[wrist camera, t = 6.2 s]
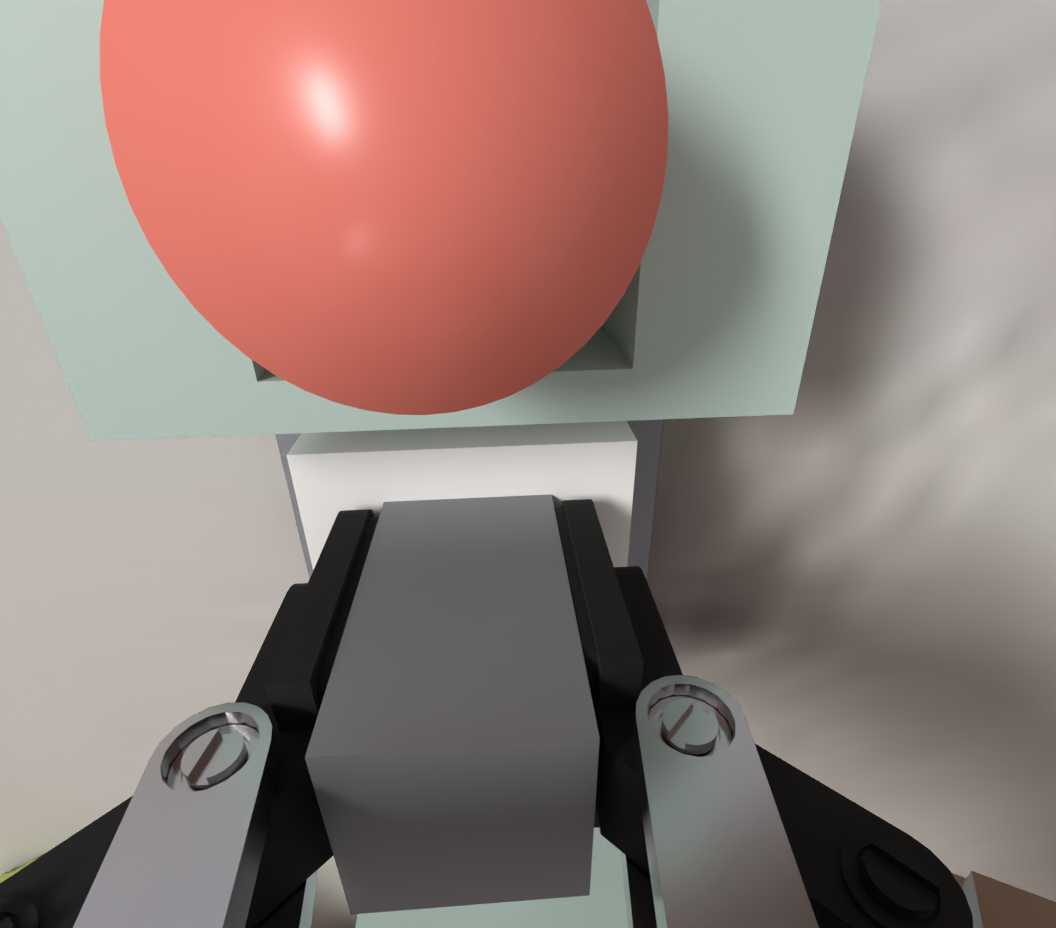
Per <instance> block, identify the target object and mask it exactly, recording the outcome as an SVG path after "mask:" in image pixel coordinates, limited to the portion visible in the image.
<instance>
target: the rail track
mask: <svg viewBox="0 0 1056 928" xmlns="http://www.w3.org/2000/svg"><path fill="white" fill-rule="evenodd" d="M646 2H647V5H648V8H649V11H650V14H651V17H652V20H653V23H654V26H655V30H656V33H657V38H658V43H659V48H660V53H661V58H662V63H663V68H664V73H665V82H666V94H667V106H668V151H667V163H666V170H665V177H664V184H663V191H662V197H661V201H660V205H659V209H658V213H657V217H656V220H655V224H654V228H653V232H652V235H651V237H650V240H649V242H648V245H647V247H646V250H645V253H644V255H643V258H642V260H641V263H640V265H639V267H638V269H637V271H636V273H635V275H634V277H633V279H632V280H631V282H630V284H629V286H628V288H627V290H626V292H625V294H624V295H623V297H622V298H621V300H620V301H619V303H618V304H617V306H616V307H615V308H614V310H613V311H612V313H611V314H610V316H609V317H608V318H607V320H606V321H605V323H604V324H603V325H602V326H601V327H600V328H599V329H598V330H597V332H596V333H595V334H594V335H593V336H592V337H591V338H590V339H589V341H588V342H587V343H586V344H585V345H584V346H583V347H582V348H581V349H580V350H578V351H577V352H576V353H575V354H574V355H573V356H572V357H570V358H569V359H568V360H567V361H566V362H565V363H564V364H562V365H561V366H560V367H558V368H557V369H556V370H554V371H553V372H551V373H550V374H548V375H547V376H545V377H544V378H542V379H541V380H539V381H538V382H536V383H534V384H532V385H531V386H529V387H527V388H525V389H523V390H521V391H519V392H517V393H515V394H513V395H511V396H508V397H506V398H503V399H500V400H497V401H495V402H492V403H489V404H486V405H483V406H480V407H475V408H471V409H466V410H462V411H457V412H452V413H441V414H431V415H396V414H388V413H381V412H374V411H367V410H362V409H358V408H355V407H351V406H347V405H343V404H339V403H336V402H333V401H330V400H328V399H325V398H322V397H320V396H317V395H315V394H312V393H310V392H307V391H305V390H303V389H301V388H299V387H297V386H295V385H293V384H291V383H289V382H287V381H285V380H283V379H282V378H280V377H278V376H276V375H274V374H273V373H271V372H270V371H268V370H267V369H265V368H264V367H262V366H261V365H259V364H258V363H256V362H255V361H253V360H252V359H250V358H249V357H247V356H246V355H245V354H244V353H242V352H241V351H240V350H239V349H238V348H236V347H235V346H234V345H233V344H232V343H230V342H229V341H228V340H227V339H226V338H224V337H223V336H222V335H221V334H220V333H219V332H218V331H217V330H216V329H215V328H214V327H213V326H212V325H211V324H210V323H209V322H208V321H207V320H206V319H205V318H204V317H203V316H202V315H201V314H200V313H199V312H198V311H197V310H196V309H195V308H194V307H193V305H192V304H191V303H190V302H189V300H188V299H187V298H186V296H185V295H184V294H183V293H182V291H181V290H180V289H179V288H178V286H177V285H176V284H175V282H174V281H173V280H172V279H171V277H170V276H169V274H168V273H167V271H166V270H165V268H164V266H163V265H162V263H161V262H160V260H159V259H158V257H157V255H156V254H155V252H154V251H153V249H152V247H151V246H150V244H149V243H148V241H147V239H146V237H145V234H144V232H143V230H142V228H141V226H140V224H139V222H138V220H137V218H136V216H135V214H134V212H133V210H132V208H131V206H130V203H129V201H128V198H127V195H126V192H125V190H124V187H123V184H122V181H121V179H120V176H119V173H118V170H117V168H116V164H115V160H114V156H113V152H112V148H111V144H110V140H109V136H108V132H107V128H106V123H105V115H104V107H103V99H102V92H101V84H100V29H101V21H102V13H103V5H104V0H0V219H1V222H2V224H3V227H4V229H5V232H6V234H7V237H8V239H9V242H10V244H11V247H12V249H13V252H14V254H15V256H16V259H17V261H18V264H19V266H20V269H21V271H22V274H23V276H24V279H25V281H26V284H27V286H28V289H29V291H30V294H31V296H32V299H33V301H34V304H35V306H36V309H37V311H38V314H39V316H40V319H41V321H42V324H43V326H44V328H45V331H46V333H47V336H48V338H49V341H50V343H51V346H52V348H53V351H54V353H55V356H56V358H57V361H58V363H59V366H60V368H61V371H62V373H63V376H64V378H65V381H66V383H67V386H68V388H69V391H70V393H71V396H72V398H73V401H74V403H75V405H76V408H77V410H78V413H79V415H80V418H81V420H82V423H83V425H84V428H85V430H86V433H87V435H88V438H89V440H90V441H113V440H139V439H165V438H191V437H217V436H243V435H269V434H276V438H277V443H278V447H279V451H280V455H281V459H282V464H283V468H284V472H285V476H286V481H287V485H288V489H289V493H290V497H291V502H292V506H293V510H294V514H295V518H296V523H297V527H298V531H299V535H300V540H301V544H302V548H303V552H304V556H305V561H306V565H307V569H308V573H309V577H311V575H312V573H313V568H312V563H311V559H310V555H309V550H308V546H307V542H306V537H305V533H304V529H303V524H302V520H301V516H300V512H299V507H298V503H297V499H296V494H295V490H294V486H293V481H292V477H291V473H290V468H289V464H288V460H287V456H286V455H287V454H288V452H289V451H290V449H291V448H292V446H293V445H294V444H295V442H296V441H297V439H298V438H299V436H300V435H301V433H321V432H347V431H373V430H399V429H425V428H451V427H477V426H503V425H529V424H555V423H581V422H607V421H627V423H628V425H629V426H630V428H631V430H632V432H633V434H634V435H635V437H636V439H637V453H636V466H635V478H634V491H633V503H632V515H631V528H630V540H629V552H628V565H627V567H630V566H639V567H640V568H641V569H642V571H643V573H644V576H645V578H646V581H647V575H648V565H649V555H650V545H651V536H652V526H653V516H654V506H655V496H656V486H657V477H658V467H659V457H660V447H661V437H662V428H663V419H685V418H711V417H737V416H763V415H789V414H794V410H795V405H796V400H797V396H798V391H799V386H800V381H801V377H802V372H803V367H804V363H805V358H806V353H807V349H808V344H809V339H810V335H811V330H812V325H813V321H814V316H815V311H816V307H817V302H818V297H819V293H820V288H821V283H822V279H823V274H824V269H825V264H826V260H827V255H828V250H829V246H830V241H831V236H832V232H833V227H834V222H835V218H836V213H837V208H838V204H839V199H840V194H841V190H842V185H843V180H844V176H845V171H846V166H847V161H848V157H849V152H850V147H851V143H852V138H853V133H854V129H855V124H856V119H857V115H858V110H859V105H860V101H861V96H862V91H863V87H864V82H865V77H866V73H867V68H868V63H869V59H870V54H871V49H872V44H873V40H874V35H875V30H876V26H877V21H878V16H879V12H880V7H881V2H882V0H646ZM355 928H628V922H627V911H626V901H625V891H624V881H623V870H622V860H621V851H620V850H619V849H618V848H617V847H615V846H614V845H613V844H612V843H610V842H609V841H608V840H607V839H606V838H604V837H603V836H602V835H601V834H600V828H599V827H597V828H594V834H593V850H592V865H591V881H590V895H589V896H577V897H564V898H552V899H539V900H527V901H514V902H502V903H489V904H477V905H464V906H452V907H439V908H427V909H414V910H402V911H389V912H377V913H364V914H358V915H357V920H356V926H355Z"/></svg>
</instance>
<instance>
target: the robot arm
mask: <svg viewBox="0 0 1056 928" xmlns="http://www.w3.org/2000/svg"><path fill="white" fill-rule="evenodd" d="M554 510H555V515H556V520H557V525H558V530H559V535H560V540H561V545H562V550H563V555H564V560H565V565H566V570H567V575H568V581H569V586H570V591H571V596H572V601H573V606H574V611H575V616H576V621H577V626H578V631H579V636H580V641H581V646H582V651H583V656H584V661H585V666H586V671H587V677H588V682H589V687H590V692H591V697H592V702H593V707H594V712H595V717H596V722H597V727H598V732H599V737H600V741H599V757H598V772H597V788H596V803H595V819H594V828H597V827H599V828H600V834H601V835H602V836H603V837H604V838H606V839H607V840H608V841H609V842H610V843H612V844H613V845H614V846H615V847H617V848H618V849H619V850H620V851H621V860H622V870H623V881H624V891H625V901H626V911H627V922H628V928H1056V902H1054V901H1051V900H1048V899H1046V898H1043V897H1040V896H1038V895H1035V894H1032V893H1030V892H1027V891H1024V890H1022V889H1019V888H1016V887H1014V886H1011V885H1008V884H1006V883H1003V882H1000V881H998V880H995V879H992V878H990V877H987V876H984V875H982V874H979V873H976V872H974V871H971V873H970V874H969V876H968V878H967V879H966V878H963V877H961V876H958V875H956V874H953V873H951V872H950V870H949V869H948V868H947V867H946V866H945V865H944V864H943V863H942V862H941V861H940V860H939V859H938V858H937V857H936V856H935V855H934V854H933V852H932V851H931V850H929V849H928V848H926V847H925V846H924V845H922V844H921V843H919V842H918V841H917V840H915V839H914V838H913V837H911V836H910V835H908V834H907V833H905V832H903V831H901V830H900V829H898V828H896V827H895V826H893V825H891V824H890V823H888V822H886V821H885V820H883V819H881V818H879V817H878V816H876V815H874V814H873V813H871V812H869V811H868V810H866V809H864V808H863V807H861V806H859V805H858V804H856V803H854V802H852V801H851V800H849V799H847V798H846V797H844V796H842V795H841V794H839V793H837V792H836V791H834V790H832V789H831V788H829V787H827V786H825V785H824V784H822V783H820V782H819V781H817V780H815V779H814V778H812V777H810V776H809V775H807V774H805V773H803V772H802V771H800V770H798V769H797V768H795V767H793V766H792V765H790V764H788V763H787V762H785V761H783V760H782V759H780V758H778V757H776V756H775V755H773V754H771V753H770V752H768V751H766V750H765V749H763V748H761V747H760V746H758V745H756V744H755V743H754V740H753V737H752V734H751V732H750V729H749V726H748V723H747V720H746V718H745V716H744V714H743V712H742V710H741V708H740V707H739V705H738V704H737V703H736V702H735V701H734V700H733V698H732V697H731V696H730V695H729V694H728V693H727V692H725V691H724V690H722V689H721V688H719V687H718V686H716V685H714V684H713V683H711V682H708V681H705V680H703V679H700V678H697V677H692V676H685V675H683V674H682V672H681V669H680V666H679V664H678V661H677V659H676V656H675V653H674V651H673V648H672V646H671V643H670V640H669V638H668V635H667V633H666V630H665V627H664V625H663V622H662V620H661V617H660V614H659V612H658V609H657V607H656V604H655V602H654V599H653V596H652V594H651V591H650V589H649V586H648V583H647V581H646V578H645V576H644V573H643V571H642V569H641V568H640V567H639V566H630V567H614V566H613V563H612V560H611V557H610V554H609V550H608V547H607V544H606V541H605V538H604V535H603V531H602V528H601V525H600V522H599V519H598V516H597V512H596V509H595V506H594V503H593V501H592V499H583V500H563V501H562V508H554ZM378 519H379V517H374V514H373V511H372V510H371V509H366V510H344V511H339V513H338V515H337V517H336V519H335V521H334V524H333V526H332V528H331V531H330V533H329V535H328V538H327V540H326V542H325V545H324V547H323V549H322V552H321V554H320V556H319V559H318V561H317V563H316V566H315V568H314V570H313V573H312V575H311V577H310V580H309V582H308V583H303V584H294V585H292V586H291V587H290V589H289V590H288V592H287V593H286V596H285V598H284V600H283V602H282V604H281V606H280V608H279V611H278V613H277V615H276V617H275V619H274V621H273V623H272V625H271V628H270V630H269V632H268V634H267V636H266V638H265V640H264V642H263V645H262V647H261V649H260V651H259V653H258V655H257V657H256V659H255V662H254V664H253V666H252V668H251V670H250V672H249V674H248V676H247V679H246V681H245V683H244V685H243V687H242V689H241V691H240V693H239V696H238V698H237V700H236V702H235V703H225V704H221V705H217V706H213V707H210V708H207V709H205V710H203V711H201V712H199V713H197V714H194V715H192V716H191V717H189V718H188V719H186V720H185V721H184V722H182V723H181V724H179V725H178V726H176V727H175V728H174V729H173V730H172V731H171V732H170V733H169V734H168V735H167V736H166V737H165V738H164V739H163V740H162V741H161V742H160V743H159V745H158V747H157V748H156V750H155V751H154V753H153V755H152V756H151V758H150V760H149V762H148V764H147V766H146V768H145V771H144V773H143V775H142V777H141V779H140V782H139V784H138V786H137V788H136V790H135V793H134V795H133V796H132V797H130V798H129V799H127V800H126V801H124V802H123V803H121V804H120V805H118V806H117V807H115V808H114V809H112V810H111V811H109V812H108V813H106V814H105V815H103V816H102V817H100V818H98V819H97V820H95V821H94V822H92V823H91V824H89V825H88V826H86V827H85V828H83V829H82V830H80V831H79V832H77V833H76V834H74V835H73V836H71V837H70V838H68V839H67V840H65V841H64V842H62V843H61V844H59V845H58V846H56V847H55V848H53V849H52V850H50V851H48V852H47V853H45V854H44V855H42V856H41V857H39V858H38V859H36V860H35V861H33V862H32V863H30V864H29V865H27V866H26V867H24V868H23V869H21V870H20V871H18V872H17V873H15V874H14V875H12V876H11V877H9V878H8V879H6V880H5V881H3V882H2V883H0V928H311V922H312V915H313V908H314V901H315V894H316V887H317V870H318V869H319V868H320V867H321V866H322V865H323V864H324V863H325V862H326V861H327V860H329V859H330V858H331V857H332V856H333V851H332V848H331V845H330V841H329V838H328V835H327V831H326V828H325V824H324V821H323V818H322V814H321V811H320V807H319V804H318V801H317V797H316V794H315V791H314V787H313V784H312V780H311V777H310V774H309V770H308V767H307V763H306V760H305V755H306V752H307V749H308V746H309V742H310V739H311V736H312V733H313V729H314V726H315V723H316V720H317V717H318V713H319V710H320V707H321V704H322V700H323V697H324V694H325V691H326V687H327V684H328V681H329V678H330V674H331V671H332V668H333V665H334V661H335V658H336V655H337V652H338V649H339V645H340V642H341V639H342V636H343V632H344V629H345V626H346V623H347V619H348V616H349V613H350V610H351V606H352V603H353V600H354V597H355V594H356V590H357V587H358V584H359V581H360V577H361V574H362V571H363V568H364V564H365V561H366V558H367V555H368V551H369V548H370V545H371V542H372V539H373V535H374V532H375V529H376V526H377V522H378Z"/></svg>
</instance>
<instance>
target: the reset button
mask: <svg viewBox="0 0 1056 928" xmlns="http://www.w3.org/2000/svg"><path fill="white" fill-rule="evenodd" d="M100 84H101V92H102V99H103V107H104V115H105V123H106V128H107V132H108V136H109V140H110V144H111V148H112V152H113V156H114V160H115V164H116V168H117V170H118V173H119V176H120V179H121V181H122V184H123V187H124V190H125V192H126V195H127V198H128V201H129V203H130V206H131V208H132V210H133V212H134V214H135V216H136V218H137V220H138V222H139V224H140V226H141V228H142V230H143V232H144V234H145V237H146V239H147V241H148V243H149V244H150V246H151V247H152V249H153V251H154V252H155V254H156V255H157V257H158V259H159V260H160V262H161V263H162V265H163V266H164V268H165V270H166V271H167V273H168V274H169V276H170V277H171V279H172V280H173V281H174V282H175V284H176V285H177V286H178V288H179V289H180V290H181V291H182V293H183V294H184V295H185V296H186V298H187V299H188V300H189V302H190V303H191V304H192V305H193V307H194V308H195V309H196V310H197V311H198V312H199V313H200V314H201V315H202V316H203V317H204V318H205V319H206V320H207V321H208V322H209V323H210V324H211V325H212V326H213V327H214V328H215V329H216V330H217V331H218V332H219V333H220V334H221V335H222V336H223V337H224V338H226V339H227V340H228V341H229V342H230V343H232V344H233V345H234V346H235V347H236V348H238V349H239V350H240V351H241V352H242V353H244V354H245V355H246V356H247V357H249V358H250V359H252V360H253V361H255V362H256V363H258V364H259V365H261V366H262V367H264V368H265V369H267V370H268V371H270V372H271V373H273V374H274V375H276V376H278V377H280V378H282V379H283V380H285V381H287V382H289V383H291V384H293V385H295V386H297V387H299V388H301V389H303V390H305V391H307V392H310V393H312V394H315V395H317V396H320V397H322V398H325V399H328V400H330V401H333V402H336V403H339V404H343V405H347V406H351V407H355V408H358V409H362V410H367V411H374V412H381V413H388V414H396V415H431V414H441V413H452V412H457V411H462V410H466V409H471V408H475V407H480V406H483V405H486V404H489V403H492V402H495V401H497V400H500V399H503V398H506V397H508V396H511V395H513V394H515V393H517V392H519V391H521V390H523V389H525V388H527V387H529V386H531V385H532V384H534V383H536V382H538V381H539V380H541V379H542V378H544V377H545V376H547V375H548V374H550V373H551V372H553V371H554V370H556V369H557V368H558V367H560V366H561V365H562V364H564V363H565V362H566V361H567V360H568V359H569V358H570V357H572V356H573V355H574V354H575V353H576V352H577V351H578V350H580V349H581V348H582V347H583V346H584V345H585V344H586V343H587V342H588V341H589V339H590V338H591V337H592V336H593V335H594V334H595V333H596V332H597V330H598V329H599V328H600V327H601V326H602V325H603V324H604V323H605V321H606V320H607V318H608V317H609V316H610V314H611V313H612V311H613V310H614V308H615V307H616V306H617V304H618V303H619V301H620V300H621V298H622V297H623V295H624V294H625V292H626V290H627V288H628V286H629V284H630V282H631V280H632V279H633V277H634V275H635V273H636V271H637V269H638V267H639V265H640V263H641V260H642V258H643V255H644V253H645V250H646V247H647V245H648V242H649V240H650V237H651V235H652V232H653V228H654V224H655V220H656V217H657V213H658V209H659V205H660V201H661V197H662V191H663V184H664V177H665V170H666V163H667V151H668V106H667V94H666V82H665V73H664V68H663V63H662V58H661V53H660V48H659V43H658V38H657V33H656V30H655V26H654V23H653V20H652V17H651V14H650V11H649V8H648V5H647V2H646V0H104V5H103V13H102V21H101V29H100Z"/></svg>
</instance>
